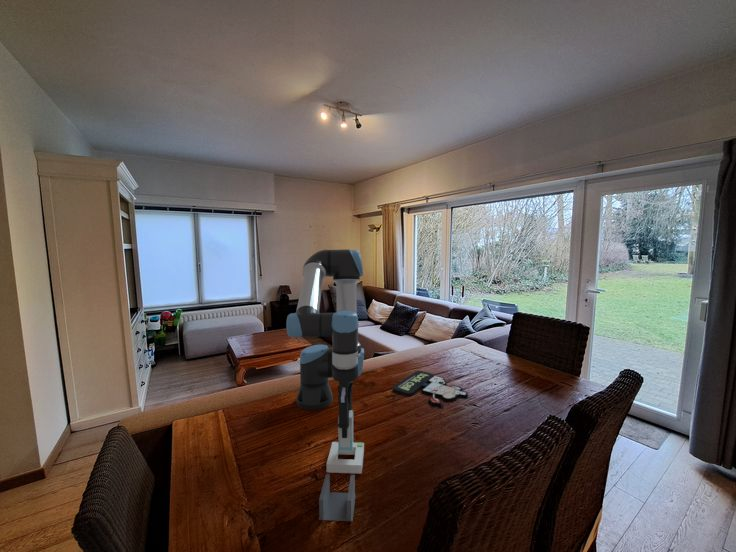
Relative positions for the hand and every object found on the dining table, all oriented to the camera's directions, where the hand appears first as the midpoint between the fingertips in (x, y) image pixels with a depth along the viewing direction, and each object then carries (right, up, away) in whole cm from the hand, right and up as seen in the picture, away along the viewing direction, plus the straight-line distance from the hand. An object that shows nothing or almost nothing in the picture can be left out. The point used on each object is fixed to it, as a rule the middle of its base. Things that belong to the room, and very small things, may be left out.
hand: (346, 441), depth 88 cm
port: (0, -7, +1) cm, 7 cm away
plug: (0, -2, 0) cm, 2 cm away
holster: (-1, -8, -15) cm, 17 cm away
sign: (+37, -4, +48) cm, 60 cm away
